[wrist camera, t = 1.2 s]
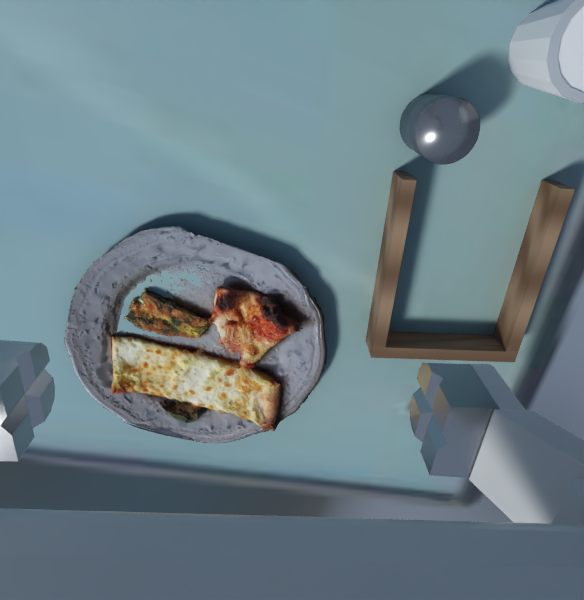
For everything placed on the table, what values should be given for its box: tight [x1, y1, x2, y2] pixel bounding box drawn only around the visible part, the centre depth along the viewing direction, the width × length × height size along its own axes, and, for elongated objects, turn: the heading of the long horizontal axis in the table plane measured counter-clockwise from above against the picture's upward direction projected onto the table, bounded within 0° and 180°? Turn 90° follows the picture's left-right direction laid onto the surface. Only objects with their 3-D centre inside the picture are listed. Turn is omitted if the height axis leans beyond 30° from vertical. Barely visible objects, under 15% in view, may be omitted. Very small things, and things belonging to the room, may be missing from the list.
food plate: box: [64, 226, 327, 443], centre depth 45 cm, size 25×23×4 cm
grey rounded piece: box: [400, 93, 480, 164], centre depth 35 cm, size 5×5×5 cm
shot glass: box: [508, 0, 584, 103], centre depth 32 cm, size 7×7×7 cm
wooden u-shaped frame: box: [366, 171, 575, 362], centre depth 42 cm, size 17×14×3 cm
